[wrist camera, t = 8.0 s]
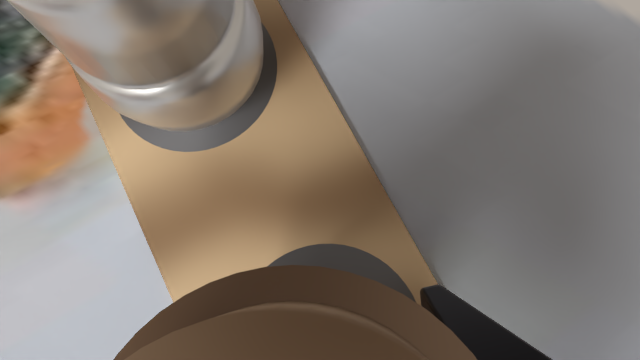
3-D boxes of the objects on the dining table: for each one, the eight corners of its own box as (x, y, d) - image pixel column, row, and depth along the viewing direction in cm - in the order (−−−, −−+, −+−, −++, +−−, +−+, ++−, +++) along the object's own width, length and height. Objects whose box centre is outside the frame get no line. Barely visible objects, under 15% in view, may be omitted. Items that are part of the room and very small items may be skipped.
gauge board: (509, 412, 16) (511, 414, 15) (279, 542, 15) (278, 546, 15) (249, -48, 20) (248, -51, 20) (63, 44, 19) (60, 41, 19)
